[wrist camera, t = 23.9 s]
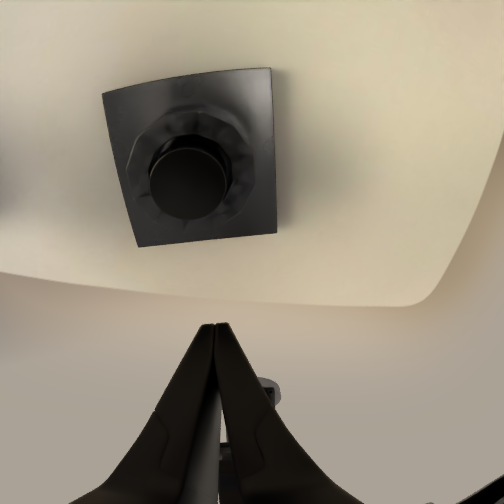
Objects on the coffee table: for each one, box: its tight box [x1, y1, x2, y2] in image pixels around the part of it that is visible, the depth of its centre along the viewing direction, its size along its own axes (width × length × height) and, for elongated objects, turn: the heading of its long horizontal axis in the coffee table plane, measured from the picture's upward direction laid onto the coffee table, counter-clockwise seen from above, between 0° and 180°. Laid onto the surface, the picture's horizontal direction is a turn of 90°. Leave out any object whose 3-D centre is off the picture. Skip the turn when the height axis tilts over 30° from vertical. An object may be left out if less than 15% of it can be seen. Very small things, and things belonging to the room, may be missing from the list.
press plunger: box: [149, 139, 227, 220], centre depth 14 cm, size 4×4×2 cm
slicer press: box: [102, 68, 277, 247], centre depth 15 cm, size 10×9×3 cm
